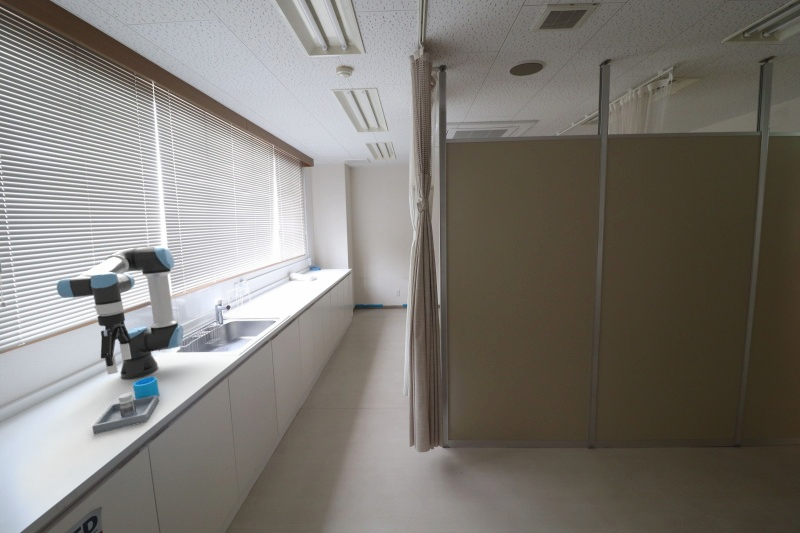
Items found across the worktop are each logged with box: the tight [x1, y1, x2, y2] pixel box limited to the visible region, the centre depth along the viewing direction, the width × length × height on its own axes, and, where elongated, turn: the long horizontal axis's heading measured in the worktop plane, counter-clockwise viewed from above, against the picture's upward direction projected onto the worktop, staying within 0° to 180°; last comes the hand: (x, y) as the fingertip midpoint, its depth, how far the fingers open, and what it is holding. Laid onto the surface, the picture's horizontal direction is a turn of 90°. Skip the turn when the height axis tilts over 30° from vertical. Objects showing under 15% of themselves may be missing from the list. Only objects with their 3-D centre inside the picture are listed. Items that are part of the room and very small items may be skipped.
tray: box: [92, 395, 160, 435], centre depth 128 cm, size 16×16×3 cm
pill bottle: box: [118, 392, 136, 418], centre depth 127 cm, size 5×5×8 cm
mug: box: [132, 376, 160, 400], centre depth 142 cm, size 12×8×8 cm
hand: (120, 366), depth 125 cm, fingers open, 13 cm apart
